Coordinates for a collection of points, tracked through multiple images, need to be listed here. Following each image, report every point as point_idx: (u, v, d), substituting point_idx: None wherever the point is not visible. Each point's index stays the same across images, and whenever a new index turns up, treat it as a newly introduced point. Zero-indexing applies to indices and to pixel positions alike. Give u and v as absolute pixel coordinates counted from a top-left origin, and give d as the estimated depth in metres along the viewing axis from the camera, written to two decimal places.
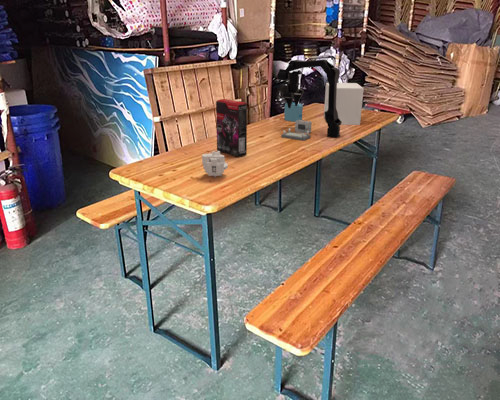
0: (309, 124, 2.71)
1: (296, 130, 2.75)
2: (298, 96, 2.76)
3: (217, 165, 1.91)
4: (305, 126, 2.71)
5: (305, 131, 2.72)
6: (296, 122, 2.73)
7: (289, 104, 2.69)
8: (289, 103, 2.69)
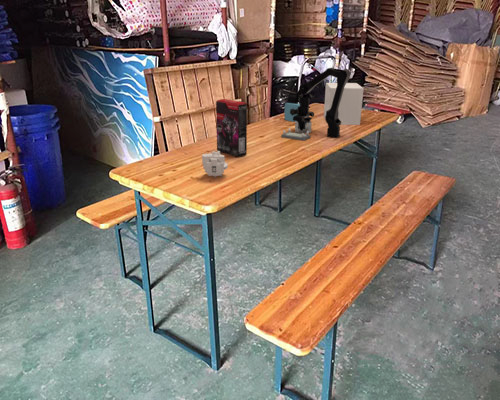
0: (309, 124, 2.71)
1: (296, 130, 2.75)
2: (307, 119, 2.74)
3: (217, 165, 1.91)
4: (305, 126, 2.71)
5: (305, 131, 2.72)
6: (296, 122, 2.73)
7: (301, 127, 2.71)
8: (301, 126, 2.71)
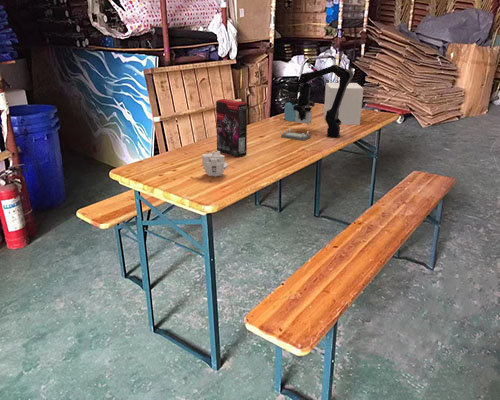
0: (309, 114, 2.68)
1: (296, 120, 2.73)
2: (307, 109, 2.72)
3: (217, 165, 1.91)
4: (305, 115, 2.68)
5: (305, 121, 2.69)
6: (296, 112, 2.71)
7: (301, 116, 2.69)
8: (301, 115, 2.68)
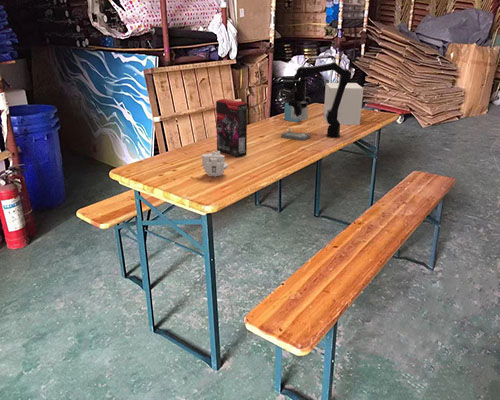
0: (305, 109, 2.59)
1: (292, 116, 2.64)
2: (303, 105, 2.63)
3: (217, 165, 1.91)
4: (301, 111, 2.59)
5: (301, 117, 2.60)
6: (292, 107, 2.62)
7: (297, 112, 2.60)
8: (297, 111, 2.59)
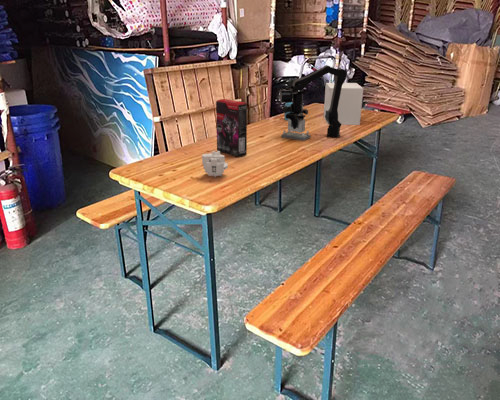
0: (303, 122, 2.57)
1: (289, 128, 2.61)
2: (300, 117, 2.61)
3: (217, 165, 1.91)
4: (298, 124, 2.57)
5: (298, 129, 2.58)
6: (289, 120, 2.60)
7: (294, 125, 2.58)
8: (294, 124, 2.57)
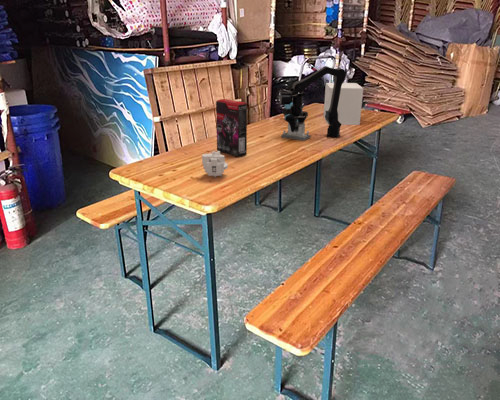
0: (302, 126, 2.58)
1: (289, 132, 2.62)
2: (302, 119, 2.63)
3: (217, 165, 1.91)
4: (298, 128, 2.58)
5: (298, 133, 2.59)
6: (289, 124, 2.61)
7: (292, 128, 2.56)
8: (292, 127, 2.56)
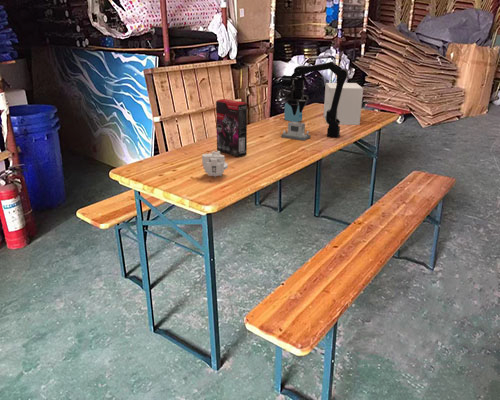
0: (302, 126, 2.58)
1: (289, 132, 2.62)
2: (303, 102, 2.69)
3: (217, 165, 1.91)
4: (298, 128, 2.58)
5: (298, 133, 2.59)
6: (289, 124, 2.61)
7: (294, 111, 2.63)
8: (294, 110, 2.62)
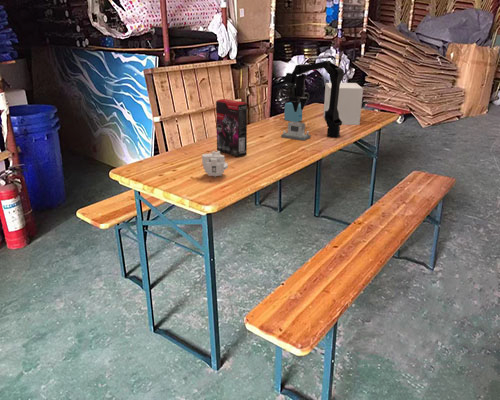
0: (302, 126, 2.58)
1: (289, 132, 2.62)
2: (304, 100, 2.79)
3: (217, 165, 1.91)
4: (298, 128, 2.58)
5: (298, 133, 2.59)
6: (289, 124, 2.61)
7: (295, 108, 2.72)
8: (295, 107, 2.72)
